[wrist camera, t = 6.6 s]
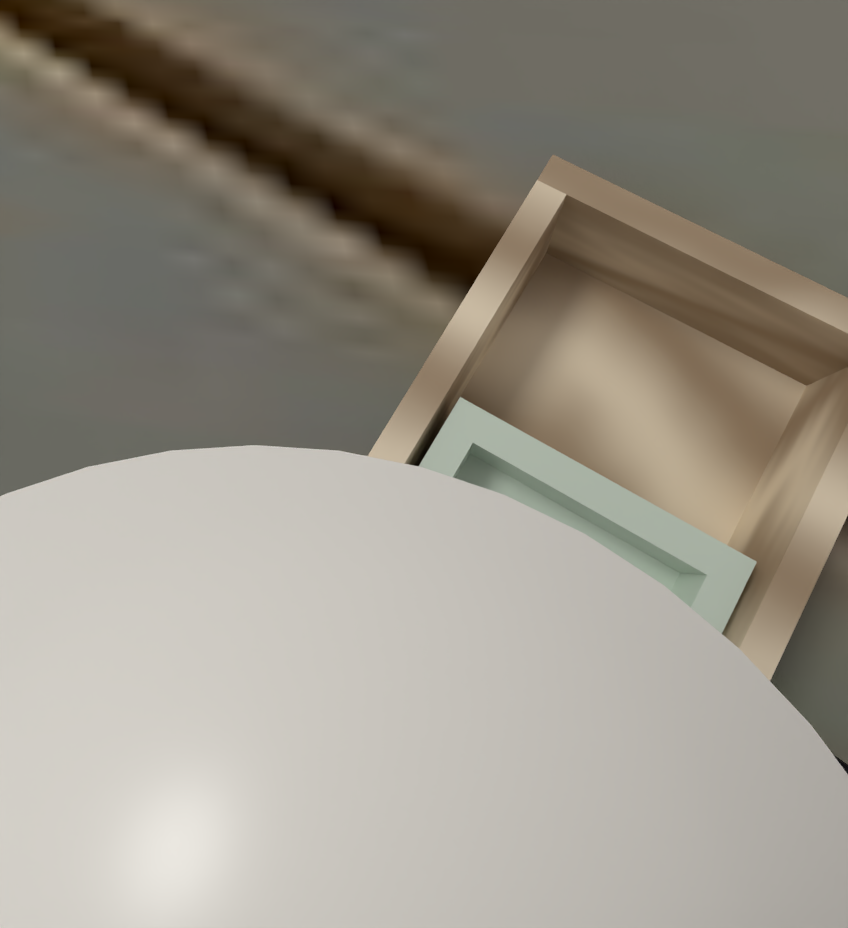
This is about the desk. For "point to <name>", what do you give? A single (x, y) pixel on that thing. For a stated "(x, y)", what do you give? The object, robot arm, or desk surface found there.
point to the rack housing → (660, 380)
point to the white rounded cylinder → (379, 715)
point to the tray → (592, 508)
